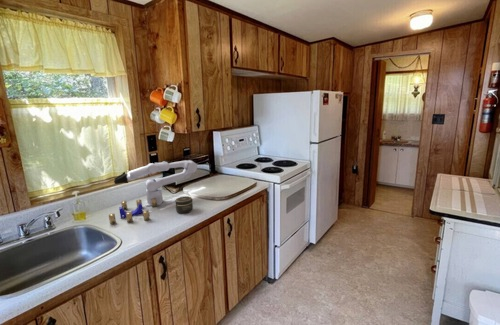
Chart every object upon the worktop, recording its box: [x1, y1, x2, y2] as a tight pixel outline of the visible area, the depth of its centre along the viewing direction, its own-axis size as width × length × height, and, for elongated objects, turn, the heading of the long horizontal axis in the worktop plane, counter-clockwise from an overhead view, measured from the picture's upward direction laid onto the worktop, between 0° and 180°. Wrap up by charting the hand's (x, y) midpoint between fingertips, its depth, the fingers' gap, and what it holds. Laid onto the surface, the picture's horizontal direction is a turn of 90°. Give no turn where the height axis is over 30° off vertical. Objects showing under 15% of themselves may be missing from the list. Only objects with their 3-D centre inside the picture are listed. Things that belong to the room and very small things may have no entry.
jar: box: [174, 195, 194, 215], centre depth 155 cm, size 10×10×8 cm
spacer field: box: [108, 198, 158, 225], centre depth 154 cm, size 21×23×5 cm
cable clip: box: [118, 203, 143, 219], centre depth 153 cm, size 12×4×6 cm, turn 117°
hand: (114, 181), depth 158 cm, fingers open, 7 cm apart
